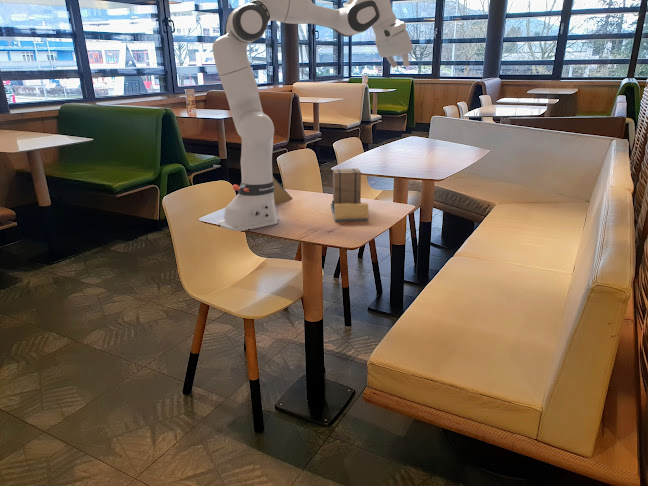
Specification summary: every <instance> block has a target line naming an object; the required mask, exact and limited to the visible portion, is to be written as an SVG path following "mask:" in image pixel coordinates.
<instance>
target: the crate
mask: <svg viewBox="0 0 648 486" xmlns="http://www.w3.org/2000/svg"><path fill="white" fill-rule="evenodd" d="M361 187H362V171H361V170H360V169H359V168H333V169H332V200H334V203H335V204H341V203H362V202H361V199H362V198H361V193H362V192H361V191H362V189H361Z"/></svg>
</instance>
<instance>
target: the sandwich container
mask: <svg viewBox="0 0 648 486" xmlns="http://www.w3.org/2000/svg"><path fill="white" fill-rule="evenodd" d="M272 179H273V181H274V201H275V205H279V204H281V203H284V202H286V201H290V200H293V197H292V196H291V195H290V194H289V193H288V192H287V190H286V189H285V188H284V187H283V186H282V185H281V184H280V182H278V180H277V179H276V178H275V177H274V176H273V175H272Z"/></svg>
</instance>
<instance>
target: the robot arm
mask: <svg viewBox="0 0 648 486" xmlns="http://www.w3.org/2000/svg"><path fill="white" fill-rule="evenodd" d="M269 21H271V22H272V21H273V22H279V23H284V24H291V25H292V24H294V25H303V24H304V25H305V24H310V25H316V26H320V27H325V28H329V29H331V30H333V31H334V32H336V33H337V34H339V35H340V36H342V37H345V38H349V37H353V36H355V35H358V34H362V33H364V32H366V31H368V30H369V29H370V28H371V27H372V29H373V33H374V35H375V39H374V41H375V46H376V49H377V52H378V54H379V56H380V57H381V58H386V60H387V61H388V63H389V64H390V65H391V68H393V69H394V68H396V67H398V62H397V61H396V60H395V59H394V57H397V56H398V57H399V56H400V57H401V58H402V61H403V62H402V65H403V67H405V68H407V67H408V66H410V65H411V63H410V62H409V56H410V55H409V53H411V52H413V43H412V41H411V37H410V34H409V32H408V31H407V30H406V29H407V24H406V22H404V21H403V20H400V19H399V18H397V17H396V14H395V13H394V11H393V9H392V3H391V0H352V2H351V3H350V4H349V5H347V6H342V7H339V8H331V7H326V6H322V5H318V4H315V3H314V2H312V0H251V1H250V2H249V1H248V2H247V3H243V4H242V5H238V6H237V7H235V8H233V10H231V12H230V13H229V14H228V16H227V18H226V21H225V28H224V34H223V35H222V36H219V37H218V38H216V39H215V40H214V41H213V43H212V53H213V59H214V64H215V67H216V71H217V73H218V77H219V80H220V82H221V85H222V88H223V91H224V93H225V95H226V99H227V102H228V106H229V109H230V113H231V116H232V120H233V124H234V128H235V130H236V132H237V134H238V135H239V137H240V139H241V149H240V150H241V152H240V153H241V154H240V172H241V182H240V185H239V184H233V185H232V190H233V191H237V193H238V194H236V196H235V197H234V198H233V199H232V200H231V201H230V202H229V203H228V205H226V207H225V209H224V213H223V214H224V216H223V217H224V218H223V219H221V220H218V223H217V225H218V224H220V226H219V227H221V228H223V229H225V230H230V231H235V232H243V231H249V230H248V229H250V230H254V229H258V228H259V229H260V228H263V227H268V226H273V225H277V224H278V223H279V222H278V221H279V219H280V217H279V215H278V211H277V207H276V204H275V201H274V181H273V179H272V176H273V149H274V135H275V126H274V122H273V120H272V119H271V118H270V116H269V115H267V114H266V113H264V111H263V107H262V103H261V102H262V101H261V99H260V93H259V87H258V84H257V81H256V78H255V75H254V72H253V69H252V66H251V63H250V60H249V58H248V52H247V48H248V45H249V44H250V43H253V42H255V41H257V40H259V39H261V38H262V37H263V36H264V34H265V32H266V29H267V27H268V24H269Z"/></svg>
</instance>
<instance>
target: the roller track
mask: <svg viewBox="0 0 648 486" xmlns="http://www.w3.org/2000/svg"><path fill="white" fill-rule="evenodd" d="M330 208H331V212H332V215H333V220H334V222H335V223H339V222H342V223H343V222H368V221H369V203H368V202H361V203H341V204H335V203H334V200H333V199H332V200H331V203H330Z"/></svg>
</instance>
